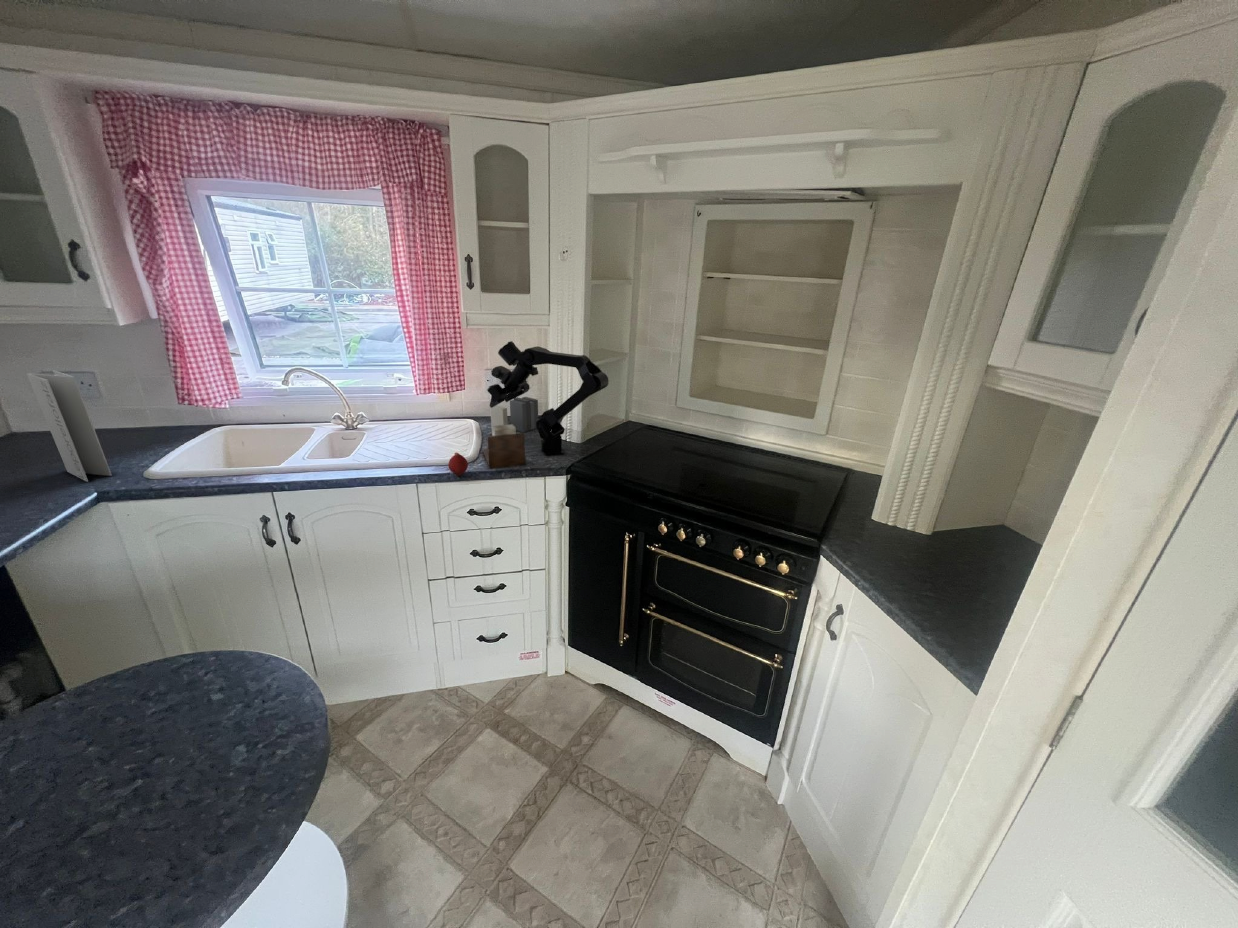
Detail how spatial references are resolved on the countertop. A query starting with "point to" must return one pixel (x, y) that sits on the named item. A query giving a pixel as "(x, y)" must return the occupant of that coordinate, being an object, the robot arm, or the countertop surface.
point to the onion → (458, 464)
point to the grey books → (524, 413)
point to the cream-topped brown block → (505, 447)
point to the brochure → (70, 424)
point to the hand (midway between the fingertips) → (498, 404)
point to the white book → (498, 416)
